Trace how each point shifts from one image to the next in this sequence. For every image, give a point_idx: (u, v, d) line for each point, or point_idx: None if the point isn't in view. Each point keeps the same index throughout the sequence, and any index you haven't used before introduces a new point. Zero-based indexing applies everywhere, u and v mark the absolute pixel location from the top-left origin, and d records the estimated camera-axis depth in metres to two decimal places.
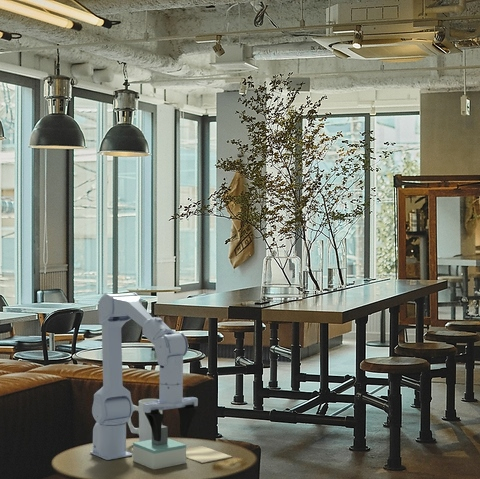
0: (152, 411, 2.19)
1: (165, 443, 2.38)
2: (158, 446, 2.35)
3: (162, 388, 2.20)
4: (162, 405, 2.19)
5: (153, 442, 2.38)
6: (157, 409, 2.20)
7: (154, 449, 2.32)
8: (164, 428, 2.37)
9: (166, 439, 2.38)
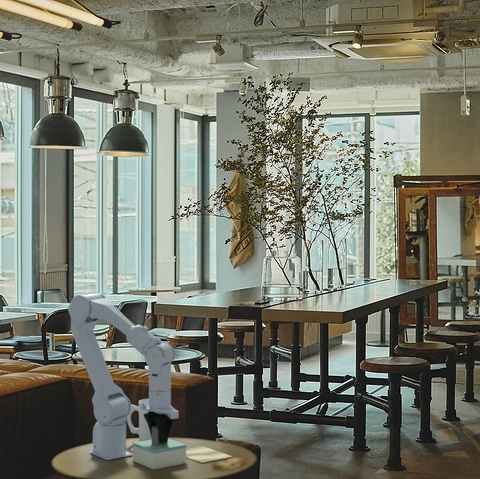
0: (145, 409, 2.42)
1: (165, 443, 2.38)
2: (158, 446, 2.35)
3: None
4: (146, 406, 2.40)
5: (153, 442, 2.38)
6: None
7: (154, 449, 2.32)
8: None
9: None
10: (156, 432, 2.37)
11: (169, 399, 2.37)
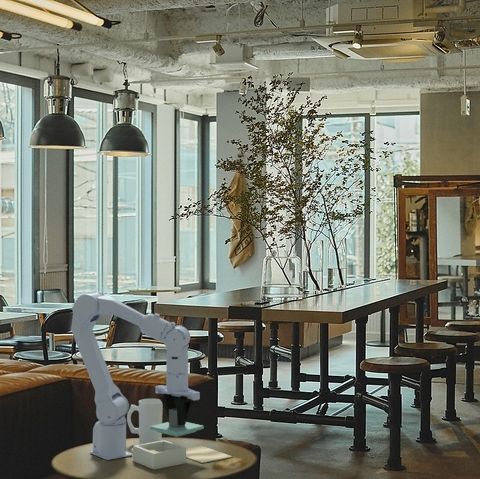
0: None
1: (183, 425, 2.41)
2: (178, 428, 2.38)
3: None
4: (162, 389, 2.42)
5: (171, 425, 2.40)
6: (164, 393, 2.43)
7: (176, 431, 2.35)
8: None
9: None
10: (175, 414, 2.39)
11: (187, 381, 2.40)
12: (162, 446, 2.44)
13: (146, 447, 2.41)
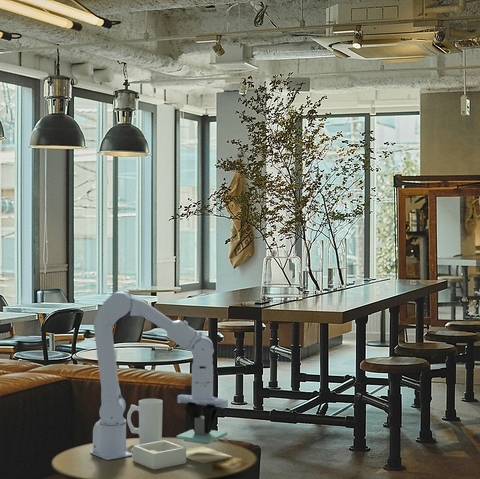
0: (182, 402, 2.47)
1: (208, 433, 2.45)
2: (206, 436, 2.43)
3: None
4: (187, 399, 2.45)
5: (197, 433, 2.44)
6: (188, 402, 2.47)
7: (207, 439, 2.40)
8: None
9: None
10: (201, 423, 2.44)
11: (212, 390, 2.45)
12: (162, 446, 2.44)
13: (146, 447, 2.41)
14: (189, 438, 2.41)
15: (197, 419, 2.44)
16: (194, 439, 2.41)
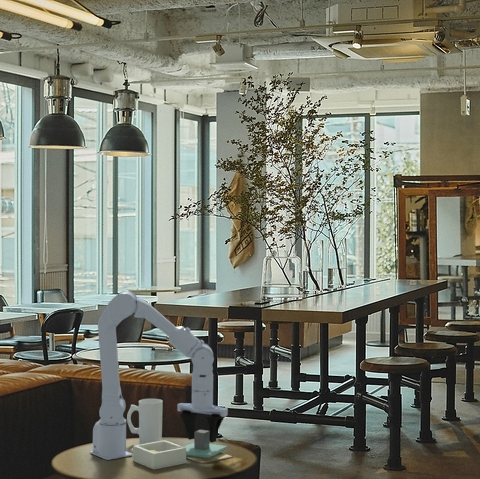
0: None
1: (208, 447, 2.46)
2: (205, 450, 2.43)
3: None
4: (187, 407, 2.45)
5: (197, 447, 2.44)
6: (187, 410, 2.47)
7: (207, 453, 2.40)
8: (207, 432, 2.45)
9: (208, 443, 2.46)
10: (201, 437, 2.44)
11: (212, 398, 2.45)
12: (162, 446, 2.44)
13: (146, 447, 2.41)
14: (189, 452, 2.42)
15: (197, 433, 2.44)
16: (194, 453, 2.41)
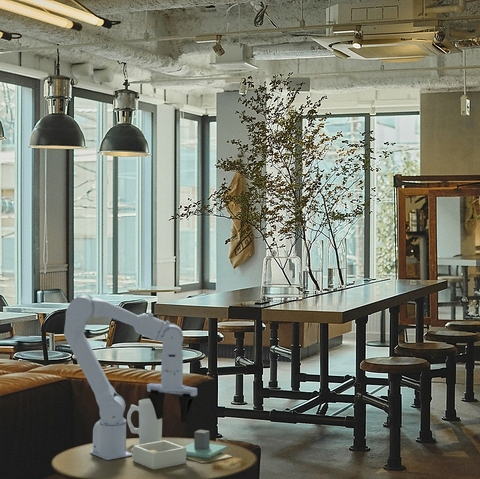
0: (152, 391, 2.47)
1: (208, 447, 2.46)
2: (205, 450, 2.43)
3: None
4: (156, 387, 2.45)
5: (197, 447, 2.44)
6: (157, 390, 2.46)
7: (207, 453, 2.40)
8: (207, 432, 2.45)
9: (208, 443, 2.46)
10: (201, 437, 2.44)
11: (182, 378, 2.45)
12: (162, 446, 2.44)
13: (146, 447, 2.41)
14: (189, 452, 2.42)
15: (197, 433, 2.44)
16: (194, 453, 2.41)
